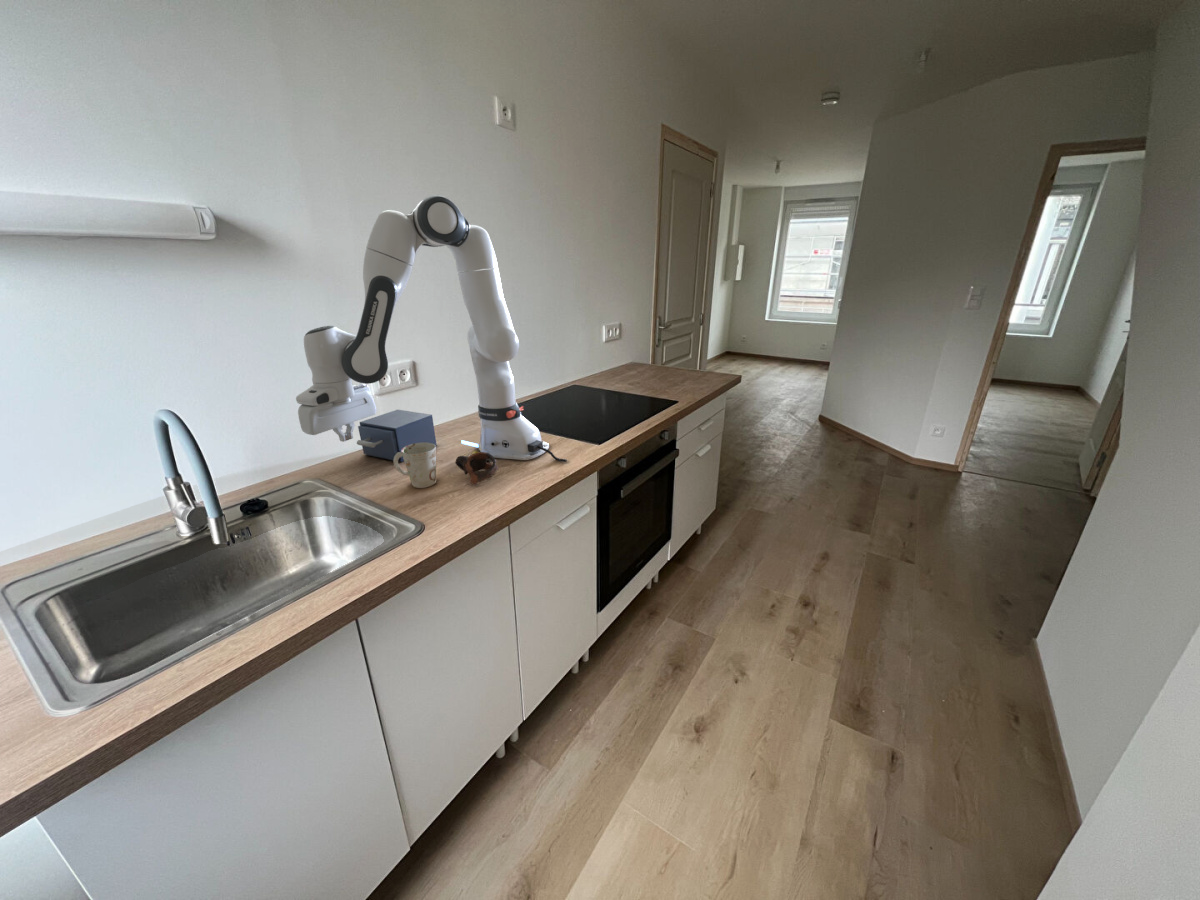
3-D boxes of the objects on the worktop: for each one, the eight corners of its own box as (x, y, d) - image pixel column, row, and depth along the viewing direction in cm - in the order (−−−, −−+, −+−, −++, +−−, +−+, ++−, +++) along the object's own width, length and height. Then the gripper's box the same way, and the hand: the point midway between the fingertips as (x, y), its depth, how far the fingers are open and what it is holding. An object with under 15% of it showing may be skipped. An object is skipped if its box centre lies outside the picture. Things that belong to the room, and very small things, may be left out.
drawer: (384, 465, 128) (378, 436, 125) (351, 458, 134) (345, 430, 130) (429, 445, 144) (425, 419, 140) (398, 439, 149) (393, 414, 145)
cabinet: (401, 462, 133) (395, 428, 129) (366, 454, 139) (359, 422, 135) (436, 446, 146) (432, 414, 142) (402, 439, 151) (397, 409, 147)
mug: (430, 491, 115) (424, 455, 112) (386, 487, 118) (379, 451, 114) (446, 477, 123) (441, 443, 119) (405, 474, 125) (399, 440, 122)
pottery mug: (502, 471, 128) (503, 453, 122) (491, 498, 122) (490, 480, 115) (462, 459, 128) (460, 441, 122) (448, 486, 122) (445, 467, 115)
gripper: (360, 380, 128) (370, 426, 134) (289, 399, 111) (303, 451, 116) (376, 382, 126) (385, 429, 131) (305, 401, 109) (320, 454, 114)
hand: (346, 439), depth 124 cm, fingers closed
